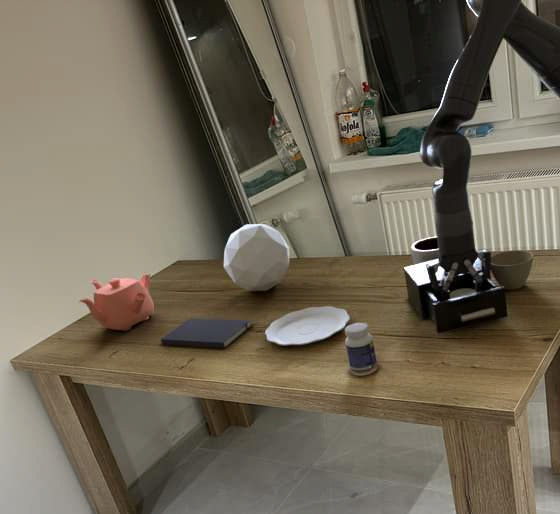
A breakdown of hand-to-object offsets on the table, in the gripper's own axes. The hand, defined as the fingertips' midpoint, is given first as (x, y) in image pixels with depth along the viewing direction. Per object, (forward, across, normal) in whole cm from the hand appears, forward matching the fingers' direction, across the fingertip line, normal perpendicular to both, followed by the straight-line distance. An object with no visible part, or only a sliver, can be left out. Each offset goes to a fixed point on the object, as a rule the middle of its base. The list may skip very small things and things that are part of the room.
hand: (463, 301), depth 151 cm
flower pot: (+5, -15, -12) cm, 20 cm away
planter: (+5, -1, -28) cm, 28 cm away
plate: (+4, +35, -15) cm, 38 cm away
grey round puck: (+1, 0, 0) cm, 1 cm away
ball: (+4, +44, -54) cm, 69 cm away
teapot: (+4, +86, -52) cm, 100 cm away
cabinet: (+4, 0, -12) cm, 12 cm away
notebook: (+4, +61, -28) cm, 67 cm away
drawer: (+3, 0, +2) cm, 4 cm away
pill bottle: (+4, +26, +12) cm, 29 cm away
